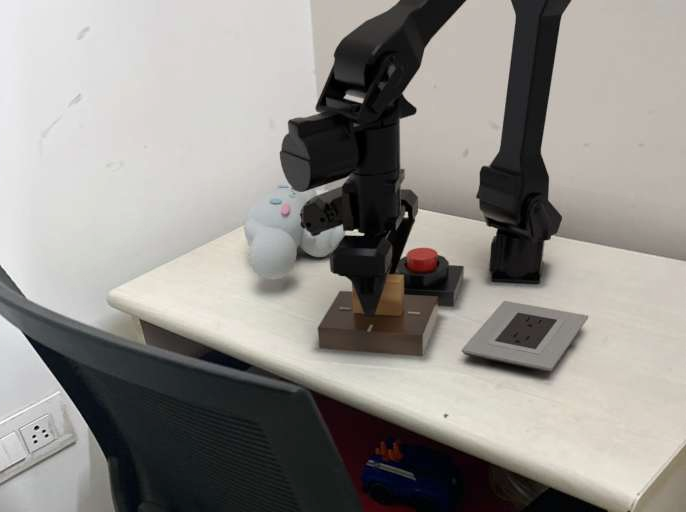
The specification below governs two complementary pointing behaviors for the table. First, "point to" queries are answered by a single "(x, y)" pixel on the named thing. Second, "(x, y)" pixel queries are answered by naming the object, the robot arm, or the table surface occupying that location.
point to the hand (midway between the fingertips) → (378, 298)
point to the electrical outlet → (525, 336)
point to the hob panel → (379, 327)
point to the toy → (283, 232)
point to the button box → (433, 281)
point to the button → (422, 259)
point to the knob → (386, 297)
